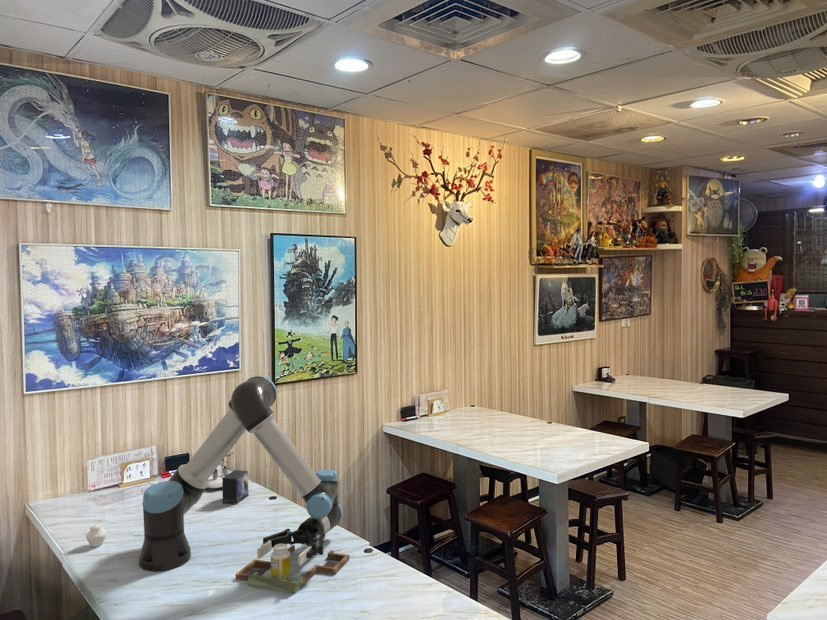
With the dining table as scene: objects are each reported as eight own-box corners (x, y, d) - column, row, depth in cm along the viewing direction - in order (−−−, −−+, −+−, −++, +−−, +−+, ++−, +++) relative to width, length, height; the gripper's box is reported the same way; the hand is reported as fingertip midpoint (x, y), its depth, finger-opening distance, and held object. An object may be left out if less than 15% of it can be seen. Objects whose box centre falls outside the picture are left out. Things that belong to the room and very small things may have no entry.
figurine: (218, 492, 253) (219, 452, 254) (188, 486, 262) (190, 447, 263) (253, 483, 270) (254, 445, 271) (224, 477, 279) (225, 441, 280)
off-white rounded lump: (84, 550, 201) (83, 529, 201) (88, 542, 207) (88, 522, 207) (105, 547, 203) (104, 527, 202) (108, 540, 209) (108, 520, 208)
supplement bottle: (291, 575, 181) (291, 541, 181) (289, 584, 176) (289, 549, 175) (272, 576, 181) (271, 542, 180) (270, 585, 175) (269, 550, 175)
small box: (237, 504, 241) (236, 478, 240) (221, 503, 242) (221, 477, 241) (249, 495, 251) (248, 470, 250) (234, 494, 252) (234, 469, 252)
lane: (275, 547, 201) (275, 538, 201) (351, 557, 192) (351, 548, 192) (230, 583, 177) (230, 573, 177) (314, 596, 169) (314, 586, 169)
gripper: (349, 545, 193) (317, 576, 173) (280, 535, 201) (242, 564, 181) (348, 521, 192) (317, 549, 172) (279, 513, 200) (241, 539, 180)
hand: (278, 557), depth 176 cm, fingers open, 13 cm apart
